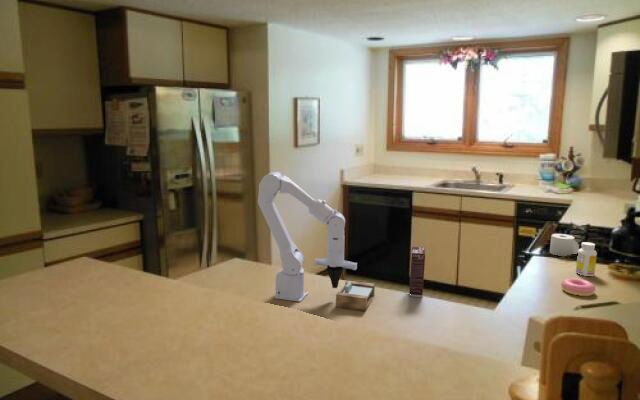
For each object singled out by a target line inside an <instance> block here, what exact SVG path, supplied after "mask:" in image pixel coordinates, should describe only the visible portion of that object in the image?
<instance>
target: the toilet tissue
mask: <svg viewBox="0 0 640 400" xmlns="http://www.w3.org/2000/svg"><path fill="white" fill-rule="evenodd" d="M549 245H550V247H549V254H550V253H551V254H553V255H558V256H567V255H571V254H577V253H578V250H579V249H580V245H579V243H578V242H577V240H575V236H573V235H570V234H565V233H553V234H551V237H550V244H549ZM551 254H550V255H551ZM553 255H552V256H553Z"/></svg>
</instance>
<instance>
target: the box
mask: <svg viewBox="0 0 640 400" xmlns="http://www.w3.org/2000/svg"><path fill="white" fill-rule="evenodd" d="M349 281H351V282H352V284H353V285H361V286H369V287H373V290H372V292H371V293H370V295H369V297H368V296H363V295H356V294H348V293H343V291H344V290H345V286H346V284H347V283H348V282H349ZM375 287H376V284H375V283H371V282H363V281H356V280H354V281H353V280H346V281H345V284H344V286H343V287H342V288H341V289H340V291H338V292H337V293H336V294H335V296H336V297H335V308H338V309H345V310H351V311H360V312H365V313H366V311H367V310H368V308H369V306H370V304H371V303H372V301H373V300H374V297H375V289H376V288H375ZM367 297H368V299H367Z"/></svg>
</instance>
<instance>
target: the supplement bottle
mask: <svg viewBox="0 0 640 400" xmlns="http://www.w3.org/2000/svg"><path fill="white" fill-rule="evenodd" d="M595 247H596V244H595V243H593V242H587V241H586V242H585V241H584V242H583V241H582V242H581V248H579V250H578V256H577V257H576V258H577V259H576V265H575V266H576V268H575V273H576V274H577V273H578V274H580V275H579V276H581V275H584V276H583V277H586V276H592V277H594V276H595V274H596V273H595V272H596V265H597V255H598V253H597V251H596V249H595ZM578 274H577V275H578ZM593 275H594V276H593Z"/></svg>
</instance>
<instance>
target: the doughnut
mask: <svg viewBox="0 0 640 400" xmlns="http://www.w3.org/2000/svg"><path fill="white" fill-rule="evenodd" d="M561 289H562V290H563V291H564V292H565V293H568V294H570V295H572V294H573V296H576V295H579V296H578V297H591V296H592V295H594V294H595V292H596V286H595V285H594V284H593V283H592V282H590V281H588V280H586V279H582V278H577V277H573V278H571V277H570V278H569V277H568V278H565V279H564V280H562V282H561Z"/></svg>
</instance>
